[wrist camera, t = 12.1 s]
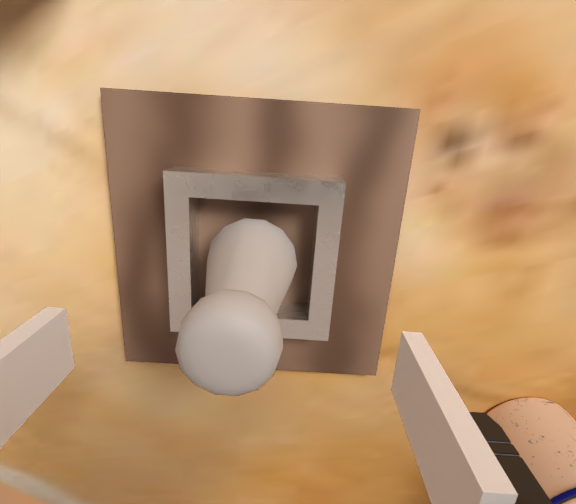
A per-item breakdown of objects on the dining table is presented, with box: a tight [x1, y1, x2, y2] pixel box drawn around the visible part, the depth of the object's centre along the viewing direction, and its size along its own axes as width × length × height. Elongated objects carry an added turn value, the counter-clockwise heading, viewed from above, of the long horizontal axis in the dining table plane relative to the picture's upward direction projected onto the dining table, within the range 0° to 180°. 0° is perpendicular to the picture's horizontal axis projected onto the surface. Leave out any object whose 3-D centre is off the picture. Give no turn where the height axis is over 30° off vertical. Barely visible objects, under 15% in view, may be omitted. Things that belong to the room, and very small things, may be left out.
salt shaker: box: [175, 218, 297, 396], centre depth 20 cm, size 6×6×13 cm
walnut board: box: [100, 88, 420, 376], centre depth 27 cm, size 20×20×1 cm
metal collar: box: [163, 166, 346, 341], centre depth 25 cm, size 11×11×2 cm
